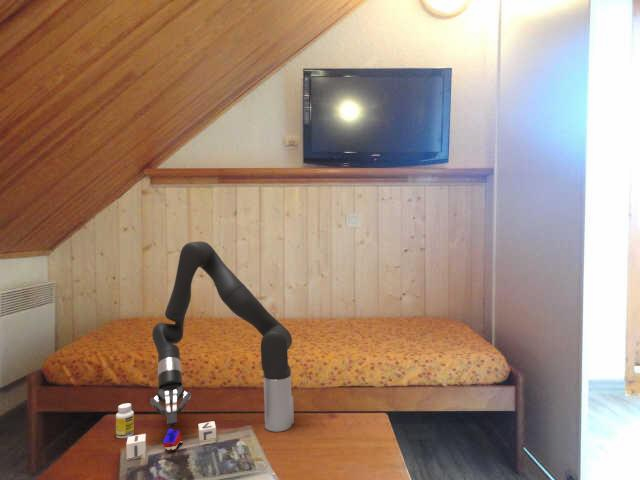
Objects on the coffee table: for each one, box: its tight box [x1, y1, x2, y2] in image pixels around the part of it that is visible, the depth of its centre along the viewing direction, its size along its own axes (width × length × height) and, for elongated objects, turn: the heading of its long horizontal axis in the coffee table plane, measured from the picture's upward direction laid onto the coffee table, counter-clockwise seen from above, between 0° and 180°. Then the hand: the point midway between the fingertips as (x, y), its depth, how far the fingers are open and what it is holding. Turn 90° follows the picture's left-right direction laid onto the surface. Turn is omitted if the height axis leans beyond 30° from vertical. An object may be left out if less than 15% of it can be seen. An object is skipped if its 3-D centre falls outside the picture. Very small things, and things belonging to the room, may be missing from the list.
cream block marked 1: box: [125, 433, 147, 460], centre depth 120 cm, size 5×5×5 cm
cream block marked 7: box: [197, 420, 217, 441], centre depth 128 cm, size 5×5×5 cm
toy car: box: [162, 428, 183, 448], centre depth 123 cm, size 4×4×8 cm
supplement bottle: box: [115, 402, 135, 439], centre depth 133 cm, size 5×5×10 cm
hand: (172, 425), depth 124 cm, fingers closed
